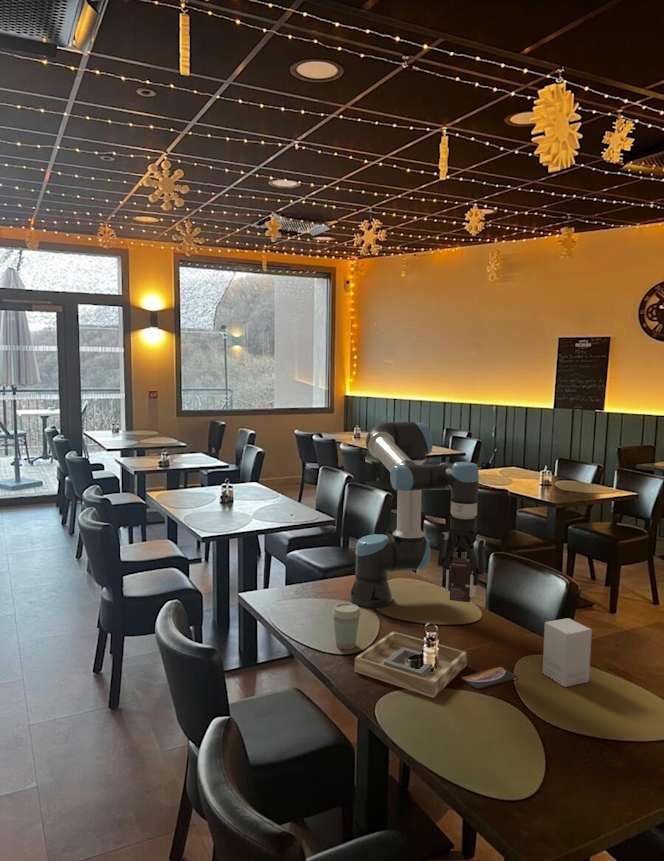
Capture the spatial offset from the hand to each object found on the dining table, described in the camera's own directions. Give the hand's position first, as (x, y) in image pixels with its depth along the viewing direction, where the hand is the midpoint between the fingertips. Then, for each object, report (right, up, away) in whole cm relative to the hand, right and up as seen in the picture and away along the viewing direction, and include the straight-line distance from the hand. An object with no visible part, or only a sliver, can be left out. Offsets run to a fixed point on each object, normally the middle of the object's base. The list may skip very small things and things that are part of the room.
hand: (460, 592), depth 187 cm
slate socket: (-15, -20, -7) cm, 26 cm away
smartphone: (+5, -21, -12) cm, 25 cm away
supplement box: (+27, -21, -11) cm, 36 cm away
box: (0, -2, 0) cm, 2 cm away
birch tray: (-15, -20, -7) cm, 26 cm away
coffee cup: (-34, -18, +7) cm, 39 cm away
